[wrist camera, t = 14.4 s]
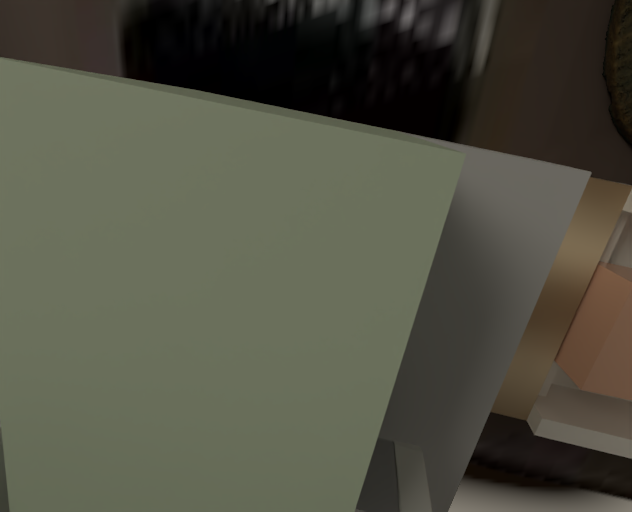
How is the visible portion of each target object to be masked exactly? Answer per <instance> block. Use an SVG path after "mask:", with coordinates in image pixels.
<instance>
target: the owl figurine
mask: <svg viewBox="0 0 632 512" xmlns="http://www.w3.org/2000/svg"><path fill="white" fill-rule="evenodd" d="M612 7H613V8H612V10H611V11H612V12H611V16H610V21H609V25H608V26H609V27H608V31H607V32H606V36H607V38H605V40H606V48H605V59H604V62H603V65H604V66H603V70H604V72H603V74H602V75H603V76H604V77H605V78H606V81H607V82H606V85H607V87H608V89H607V90H608V92H609V93H611V98H612V104H611V105H610V106H609V111H610V112H611V113H610V114H611V117H612V120H613V123H615V125H616V126H617V130H618V132H619V133H621V134H622V136H624V138H625V139H626V140H627V141H628V142H629V143H631V144H632V0H615V5H613V6H612Z"/></svg>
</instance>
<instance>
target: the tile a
mask: <svg viewBox="0 0 632 512" xmlns="http://www.w3.org/2000/svg"><path fill="white" fill-rule="evenodd" d="M554 361H555V362H556V363H557V364H558V365H559V366H560V367H561V368H562V370H563V371H564V372H565V373H566V374H567V375H568V376H569V377H570V378H571V380H572V381H573V382H574V383H575V384H576V385H577V386H578V387H579V388H580V389H581V390H584V391H589V392H593V393H598V394H603V395H608V396H613V397H618V398H622V399H627V400H632V268H630V267H625V266H620V265H616V264H611V263H606V262H602V261H599V262H598V264H597V267H596V269H595V271H594V273H593V275H592V278H591V280H590V282H589V284H588V286H587V289H586V291H585V293H584V295H583V297H582V300H581V302H580V304H579V306H578V308H577V311H576V313H575V315H574V317H573V319H572V322H571V324H570V326H569V328H568V330H567V333H566V335H565V337H564V339H563V342H562V344H561V346H560V348H559V350H558V353H557V355H556V357H555V359H554Z"/></svg>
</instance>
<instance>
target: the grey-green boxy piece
mask: <svg viewBox="0 0 632 512" xmlns="http://www.w3.org/2000/svg"><path fill="white" fill-rule="evenodd" d="M591 173H592V172H589V171H585V170H580V169H576V168H572V167H567V166H563V165H559V164H554V163H550V162H545V161H541V160H536V159H531V158H526V157H521V156H516V155H511V154H506V153H501V152H496V151H492V150H487V149H482V148H477V147H472V146H467V145H462V144H457V143H452V142H447V141H443V140H438V139H433V138H428V137H423V136H418V135H413V134H408V133H403V132H398V131H394V130H389V129H384V128H379V127H374V126H369V125H364V124H359V123H354V122H349V121H345V120H340V119H335V118H330V117H325V116H320V115H315V114H310V113H305V112H300V111H296V110H291V109H286V108H281V107H276V106H271V105H266V104H261V103H256V102H252V101H247V100H242V99H237V98H232V97H227V96H222V95H217V94H212V93H207V92H203V91H198V90H192V89H186V88H180V87H174V86H168V85H163V84H157V83H151V82H145V81H139V80H133V79H127V78H121V77H115V76H109V75H103V74H97V73H92V72H86V71H80V70H74V69H68V68H62V67H56V66H50V65H44V64H38V63H32V62H26V61H20V60H15V59H9V58H3V57H0V420H1V430H2V440H3V450H4V460H5V470H6V480H7V491H8V501H9V511H10V512H355V509H356V505H357V502H358V499H359V496H360V493H361V489H362V486H363V483H364V480H365V477H366V473H367V470H368V467H369V464H370V461H371V457H372V454H373V451H374V448H375V445H376V441H377V438H378V437H379V438H383V439H387V440H391V441H392V440H394V441H399V442H403V443H408V444H412V445H417V446H419V447H420V448H421V449H422V452H423V458H424V463H425V469H426V475H427V480H428V486H429V492H430V497H431V503H432V509H433V512H448V510H449V508H450V505H451V503H452V501H453V498H454V496H455V493H456V491H457V489H458V487H459V484H460V482H461V479H462V477H463V475H464V472H465V470H466V468H467V465H468V463H469V461H470V458H471V456H472V454H473V451H474V449H475V446H476V444H477V442H478V439H479V437H480V435H481V432H482V430H483V428H484V425H485V423H486V421H487V418H488V416H489V413H490V411H491V409H492V406H493V404H494V402H495V399H496V397H497V395H498V392H499V390H500V388H501V385H502V383H503V380H504V378H505V376H506V373H507V371H508V369H509V366H510V364H511V362H512V359H513V357H514V354H515V352H516V350H517V347H518V345H519V343H520V340H521V338H522V336H523V333H524V331H525V329H526V326H527V324H528V321H529V319H530V317H531V314H532V312H533V310H534V307H535V305H536V303H537V300H538V298H539V296H540V293H541V291H542V288H543V286H544V284H545V281H546V279H547V277H548V274H549V272H550V270H551V267H552V265H553V262H554V260H555V258H556V255H557V253H558V251H559V248H560V246H561V244H562V241H563V239H564V237H565V234H566V232H567V229H568V227H569V225H570V222H571V220H572V218H573V215H574V213H575V211H576V208H577V206H578V204H579V201H580V199H581V196H582V194H583V192H584V189H585V187H586V185H587V182H588V180H589V178H590V175H591Z"/></svg>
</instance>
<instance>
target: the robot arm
mask: <svg viewBox="0 0 632 512" xmlns="http://www.w3.org/2000/svg"><path fill="white" fill-rule="evenodd" d="M0 512H10V511H9V501H8V491H7V480H6V470H5V460H4V450H3V440H2V430H1V420H0ZM355 512H433V509H432V503H431V497H430V492H429V486H428V480H427V475H426V469H425V463H424V458H423V452H422V449H421V448H420V447H419V446H417V445H412V444H408V443H403V442H399V441H394V440H392V441H391V440H387V439H383V438H379V437H378V438H377V441H376V445H375V448H374V451H373V454H372V457H371V461H370V464H369V467H368V470H367V473H366V477H365V480H364V483H363V486H362V489H361V493H360V496H359V499H358V502H357V505H356V509H355Z"/></svg>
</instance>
